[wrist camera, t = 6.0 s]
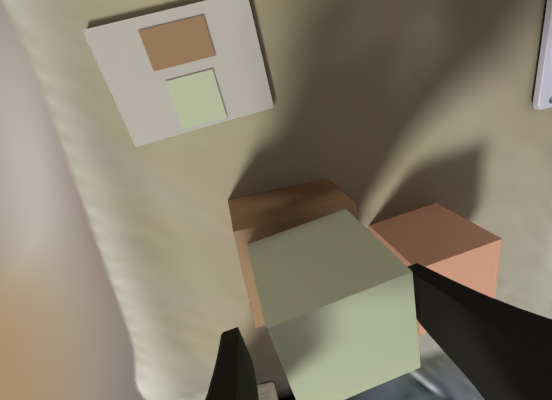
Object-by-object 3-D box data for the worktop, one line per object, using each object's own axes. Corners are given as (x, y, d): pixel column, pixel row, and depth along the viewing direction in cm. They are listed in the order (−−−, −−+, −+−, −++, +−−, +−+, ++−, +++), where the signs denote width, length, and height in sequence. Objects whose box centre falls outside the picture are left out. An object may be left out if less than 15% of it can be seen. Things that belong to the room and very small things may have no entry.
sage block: (345, 208, 14) (412, 271, 9) (360, 285, 16) (420, 367, 12) (246, 244, 13) (266, 328, 9) (275, 319, 16) (302, 417, 11)
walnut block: (326, 177, 18) (357, 203, 14) (331, 259, 20) (358, 299, 16) (227, 198, 17) (233, 231, 13) (245, 280, 19) (255, 327, 16)
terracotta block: (435, 202, 20) (502, 239, 15) (435, 259, 22) (493, 306, 17) (368, 224, 19) (417, 269, 15) (374, 281, 22) (419, 335, 17)
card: (245, -8, 13) (247, -10, 12) (272, 106, 15) (274, 107, 15) (85, 31, 12) (81, 29, 12) (137, 145, 14) (135, 147, 14)
